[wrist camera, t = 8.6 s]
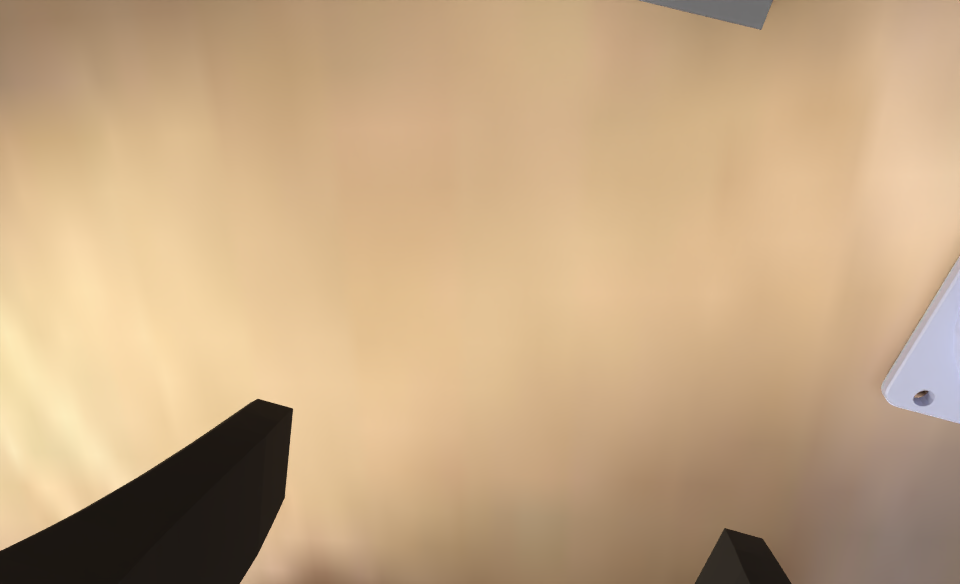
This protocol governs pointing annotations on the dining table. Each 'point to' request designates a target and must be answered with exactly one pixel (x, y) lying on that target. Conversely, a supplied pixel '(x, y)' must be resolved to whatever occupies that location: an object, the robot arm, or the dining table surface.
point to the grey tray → (723, 9)
